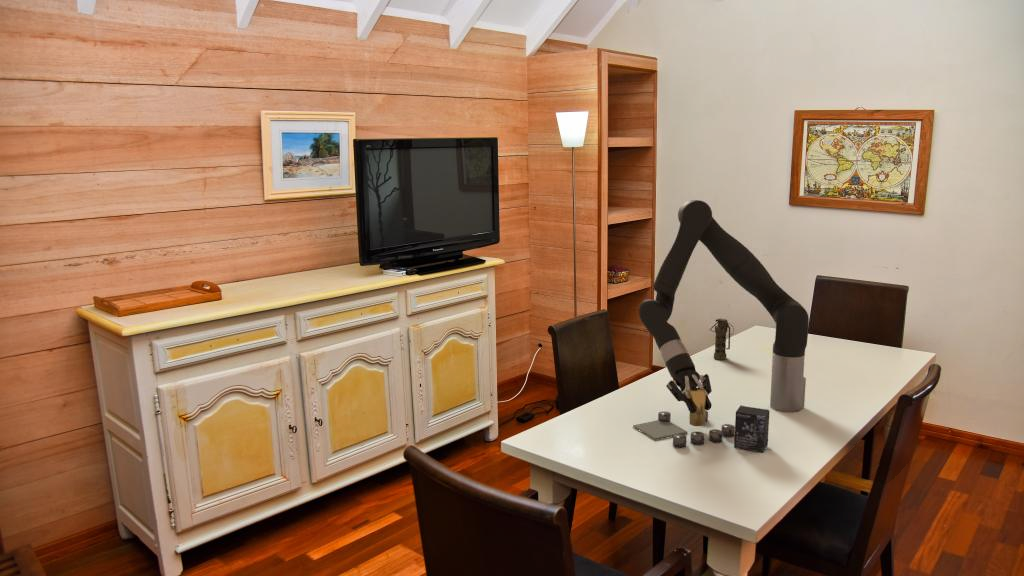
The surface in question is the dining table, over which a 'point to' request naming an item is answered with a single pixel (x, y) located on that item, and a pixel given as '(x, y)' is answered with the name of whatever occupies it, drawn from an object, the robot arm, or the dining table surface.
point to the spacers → (698, 437)
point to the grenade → (721, 339)
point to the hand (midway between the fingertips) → (701, 410)
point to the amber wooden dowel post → (698, 406)
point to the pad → (660, 429)
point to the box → (751, 428)
